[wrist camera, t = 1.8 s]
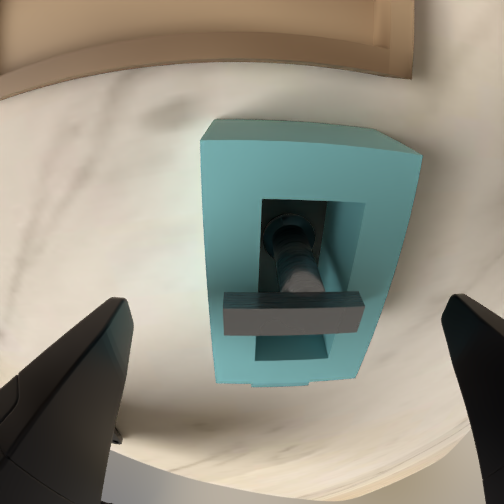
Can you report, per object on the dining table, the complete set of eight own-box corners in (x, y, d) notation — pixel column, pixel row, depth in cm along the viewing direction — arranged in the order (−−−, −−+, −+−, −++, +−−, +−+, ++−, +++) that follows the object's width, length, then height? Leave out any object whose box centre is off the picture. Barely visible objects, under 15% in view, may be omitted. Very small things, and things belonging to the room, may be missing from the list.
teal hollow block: (328, 349, 14) (342, 405, 12) (222, 351, 14) (219, 410, 11) (373, 129, 9) (423, 155, 6) (214, 119, 9) (199, 140, 6)
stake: (323, 259, 12) (352, 343, 8) (229, 258, 11) (224, 347, 8) (329, 214, 11) (370, 291, 7) (229, 212, 11) (221, 293, 7)
